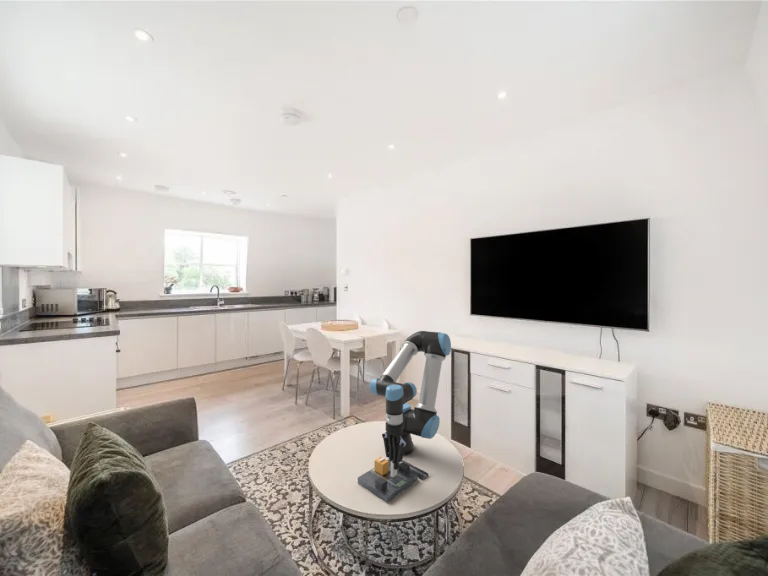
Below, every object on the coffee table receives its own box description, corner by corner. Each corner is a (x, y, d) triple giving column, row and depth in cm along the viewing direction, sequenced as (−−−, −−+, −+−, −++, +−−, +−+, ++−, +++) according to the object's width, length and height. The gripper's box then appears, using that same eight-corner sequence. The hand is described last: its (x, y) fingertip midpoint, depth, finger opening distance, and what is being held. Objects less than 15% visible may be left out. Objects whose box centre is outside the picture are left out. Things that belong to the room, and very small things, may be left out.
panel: (388, 464, 155) (388, 453, 155) (417, 480, 142) (417, 468, 142) (357, 483, 140) (357, 470, 140) (387, 503, 128) (387, 489, 128)
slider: (380, 467, 147) (380, 455, 147) (388, 471, 144) (388, 459, 144) (374, 471, 144) (374, 458, 144) (382, 475, 141) (382, 463, 141)
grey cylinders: (394, 457, 161) (394, 455, 161) (429, 476, 146) (429, 473, 146) (388, 461, 157) (388, 458, 157) (423, 480, 142) (423, 477, 142)
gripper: (377, 419, 140) (377, 472, 141) (399, 429, 131) (399, 486, 131) (389, 414, 145) (388, 465, 146) (411, 423, 136) (410, 478, 137)
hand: (393, 475), depth 139 cm, fingers closed
